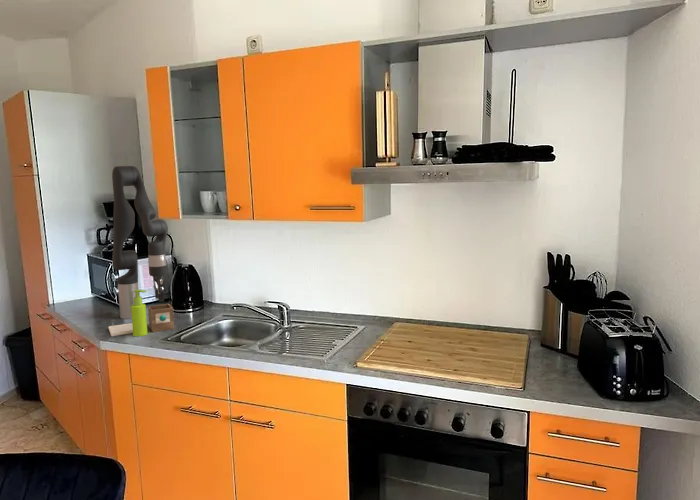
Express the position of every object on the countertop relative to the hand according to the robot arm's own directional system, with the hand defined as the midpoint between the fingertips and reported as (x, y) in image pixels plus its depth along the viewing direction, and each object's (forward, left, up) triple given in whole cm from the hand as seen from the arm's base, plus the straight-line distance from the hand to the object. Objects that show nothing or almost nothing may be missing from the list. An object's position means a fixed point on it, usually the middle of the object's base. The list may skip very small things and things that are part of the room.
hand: (159, 299), depth 226 cm
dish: (-6, -14, -13) cm, 21 cm away
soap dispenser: (+5, -9, -14) cm, 17 cm away
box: (0, 0, -13) cm, 13 cm away
